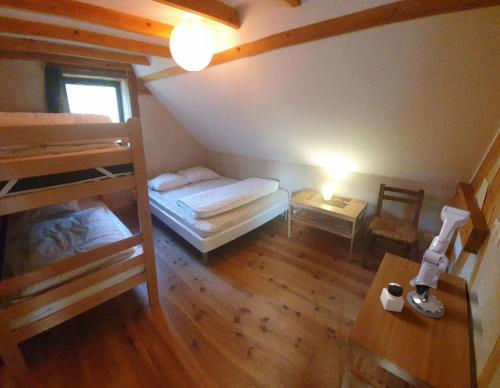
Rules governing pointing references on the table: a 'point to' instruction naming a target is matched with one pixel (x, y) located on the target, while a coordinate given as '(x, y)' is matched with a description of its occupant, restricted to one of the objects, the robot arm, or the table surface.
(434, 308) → the sprocket
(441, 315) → the sprocket base
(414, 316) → the table surface
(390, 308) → the medicine bottle
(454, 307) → the table surface
